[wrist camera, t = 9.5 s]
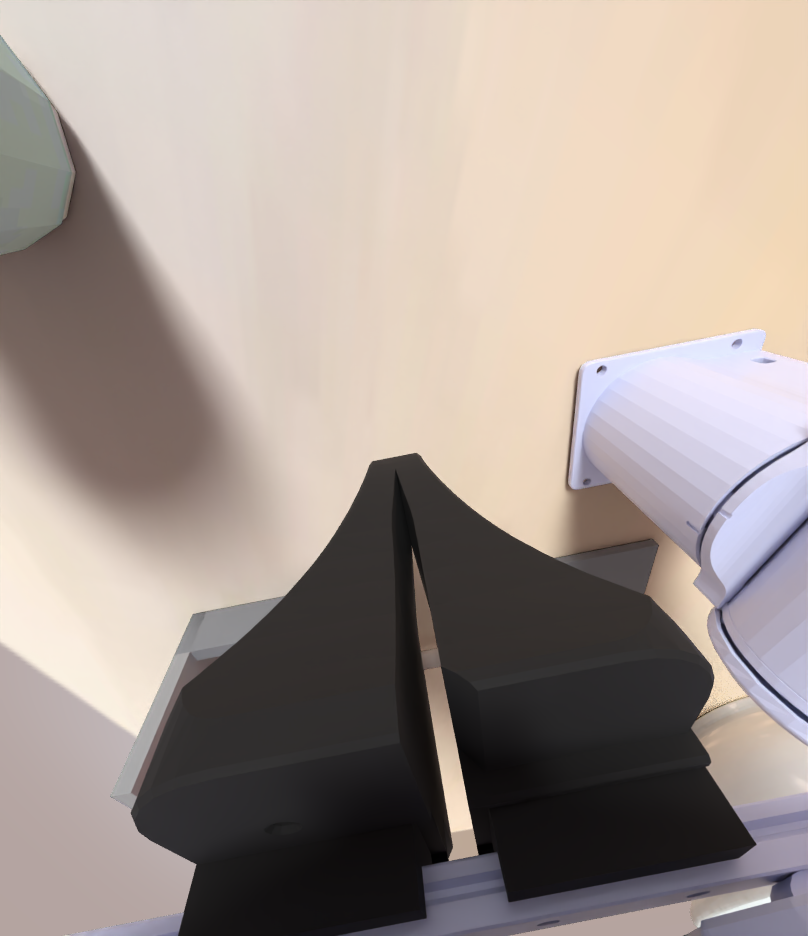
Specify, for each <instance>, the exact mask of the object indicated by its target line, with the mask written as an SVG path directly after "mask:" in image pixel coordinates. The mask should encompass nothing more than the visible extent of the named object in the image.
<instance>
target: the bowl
mask: <svg viewBox="0 0 808 936" xmlns="http://www.w3.org/2000/svg"><path fill="white" fill-rule="evenodd" d="M691 729H692V730H693V732H694V733H695V734H696V736H697V737H698V739H699V740H700V742H701V743H702V745H703V746H704V748H705V749H706V751H707V752H708V754H709V756H710V759H711V764H710V765H709V766H707V767H706V768H707V770H708V771H709V773H710V774H711V776H712V777H713V779H714V780H715V782H716V783H717V785H718V786H719V788H720V789H721V791H722V792H723V794H724V795H725V797H726V798H727V800H728V801H729V803H730V805H731V806H737V805H742V804H748V803H753V802H758V801H763V800H768V799H774V798H779V797H784V796H789V795H794V794H799V793H805V792H808V746H806V745H805V744H803V743H802V742H800V741H799V740H798V739H796V738H795V737H794V736H792V735H791V734H790V733H788V732H787V731H786V730H785V729H783V728H782V727H781V726H780V725H778V724H777V723H776V722H775V721H774V720H773V719H771V718H770V717H769V716H768V715H767V714H766V713H765V712H764V711H763V710H762V709H761V708H760V707H759V706H758V705H757V704H756V703H755V702H754V701H753V700H752V699H751V698H750V697H749V696H748V697H744V698H741V699H738V700H735V701H733V702H730V703H727V704H725V705H723V706H720V707H718V708H716V709H714V710H712V711H710V712H708V713H707V714H705V715H703V716H702V717H700V718H699V719H697V720H696V721H695V722H694V724H693V725H692V727H691ZM774 885H775V884H774ZM772 886H773V885H769V886H763V887H758V888H753V889H748V890H743V891H737V892H732V893H727V894H722V895H717V896H712V897H706V898H701V899H696V900H692V901H691V907H690V916H691V919H692V921H693V923H694V924H695V926H697V927H698V928H699V927H700V926H701V921H702V920H705V919H709V918H712V917H716V916H720V915H724V914H728V913H731V912H735V911H739V910H743V909H747V908H750V907H754V906H758V905H762V904H766V903H769V902H771V899H770V893H771V889H772Z"/></svg>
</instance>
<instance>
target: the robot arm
mask: <svg viewBox="0 0 808 936" xmlns="http://www.w3.org/2000/svg"><path fill="white" fill-rule="evenodd" d="M765 337H766V333H765V331H763V330H760V329H750V330H745V331H739V332H734V333H729V334H724V335H719V336H714V337H709V338H704V339H699V340H693V341H688V342H683V343H678V344H673V345H668V346H663V347H658V348H653V349H647V350H642V351H637V352H632V353H627V354H622V355H617V356H612V357H607V358H601V359H596V360H591V361H588V362H585V363H584V364H583V365H582V366H581V368H580V370H579V376H578V386H577V396H576V406H575V416H574V427H573V437H572V447H571V457H570V467H569V477H568V484H569V486H570V487H571V488H572V489H574V490H578V489H583V488H588V487H593V486H598V485H603V484H609V483H613V484H614V485H615V486H616V487H617V488H618V489H619V490H620V491H621V492H622V493H623V494H624V495H625V496H626V497H627V498H628V499H630V500H631V501H632V502H633V503H634V504H635V505H636V506H637V507H638V508H639V509H640V510H641V511H642V512H643V513H644V514H645V515H646V516H647V517H648V518H649V519H651V520H652V521H653V522H654V523H655V524H656V525H657V526H658V527H659V528H660V529H661V530H662V531H663V532H664V533H665V534H666V535H667V536H668V537H669V538H670V539H672V540H673V541H674V542H675V543H676V544H677V545H678V546H679V547H680V548H681V549H682V550H683V551H684V552H685V553H686V554H687V555H688V556H689V557H690V558H691V559H693V560H694V561H695V562H696V563H697V564H698V565H699V566H700V567H701V571H700V573H699V575H698V576H697V578H696V579H695V581H694V583H693V584H694V585H695V586H696V587H697V588H698V589H699V590H700V591H701V592H702V593H703V594H704V595H705V596H706V597H707V598H708V600H709V601H710V602H711V603H712V604H713V605H714V606H715V607H714V608H713V609H711V611H710V613H709V616H708V620H707V628H708V632H709V636H710V639H711V641H712V643H713V646H714V648H715V650H716V652H717V653H718V655H719V657H720V658H721V660H722V662H723V663H724V665H725V666H726V668H727V669H728V671H729V672H730V674H731V675H732V677H733V678H734V679H735V681H736V682H737V683H738V685H739V686H740V687H741V688H742V689H743V691H744V692H745V693H746V694H747V695H748V696H749V697H750V698H751V699H752V700H753V701H754V702H755V703H756V704H757V705H758V706H759V707H760V708H761V709H762V710H763V711H764V712H765V713H766V714H767V715H768V716H769V717H770V718H771V719H773V720H774V721H775V722H776V723H777V724H778V725H780V726H781V727H782V728H783V729H785V730H786V731H787V732H788V733H790V734H791V735H792V736H794V737H795V738H796V739H798V740H799V741H800V742H802V743H803V744H805V745H806V746H808V363H807V362H804V361H800V360H796V359H792V358H789V357H785V356H781V355H777V354H774V353H770V352H766V351H762V350H761V349H762V346H763V343H764V340H765ZM734 341H735V343H734V344H733V342H734ZM732 344H733V345H732ZM600 366H602V370H601V371H600V372H599V373H597V369H598V368H599V367H600ZM585 479H587V480H586V481H584V480H585ZM583 481H584V482H583ZM412 548H413V552H414V555H415V559H416V562H417V566H418V569H419V573H420V576H421V580H422V583H423V587H424V590H425V594H426V597H427V600H428V604H429V607H430V611H431V615H432V620H433V626H434V631H435V637H436V642H437V647H438V653H439V658H440V664H441V669H442V674H443V679H444V684H445V689H446V694H447V699H448V704H449V708H450V713H451V718H452V723H453V728H454V733H455V738H456V743H457V748H458V753H459V759H460V764H461V769H462V774H463V779H464V785H465V790H466V795H467V800H468V806H469V811H470V815H471V820H472V825H473V829H474V834H475V839H476V844H477V849H478V854H479V855H478V856H473V857H468V858H463V859H458V860H452V861H449V859H448V858H449V856H450V853H451V851H452V848H453V844H452V838H451V832H450V827H449V821H448V815H447V809H446V803H445V797H444V791H443V785H442V779H441V773H440V767H439V761H438V755H437V749H436V743H435V736H434V730H433V724H432V718H431V712H430V706H429V700H428V693H427V687H426V681H425V675H424V668H423V662H422V656H421V649H420V643H419V637H418V628H417V619H416V605H415V589H414V574H413V559H412ZM713 683H714V674H713V670H712V666H711V664H710V663H709V662H708V661H707V660H706V658H705V657H704V656H703V655H702V654H701V652H700V651H699V650H698V649H697V648H696V646H695V645H694V644H693V643H692V642H691V640H690V639H689V638H688V637H687V635H686V634H685V633H684V632H683V631H682V630H681V629H680V628H679V626H678V625H677V624H676V623H675V622H674V621H673V620H672V619H671V618H670V617H669V616H668V615H667V614H666V613H665V612H664V611H663V610H662V609H661V608H660V607H659V606H658V605H657V604H656V603H655V602H654V601H653V600H652V598H651V597H649V596H647V595H645V594H642V593H639V592H637V591H634V590H631V589H629V588H626V587H623V586H620V585H618V584H615V583H612V582H610V581H607V580H604V579H602V578H599V577H596V576H594V575H591V574H588V573H586V572H584V571H581V570H579V569H577V568H575V567H572V566H570V565H568V564H566V563H563V562H561V561H559V560H557V559H554V558H552V557H550V556H548V555H546V554H544V553H542V552H540V551H538V550H537V549H535V548H533V547H531V546H529V545H527V544H525V543H524V542H522V541H520V540H518V539H516V538H514V537H513V536H511V535H509V534H508V533H506V532H505V531H503V530H501V529H500V528H498V527H497V526H495V525H494V524H492V523H491V522H489V521H488V520H486V519H485V518H484V517H482V516H481V515H480V514H478V513H477V512H476V511H474V510H473V509H472V508H471V507H469V506H468V505H467V504H466V503H465V502H463V501H462V500H461V499H460V498H459V497H457V496H456V495H455V494H454V493H453V492H452V491H451V490H450V489H449V488H448V487H447V486H446V485H445V484H444V483H443V482H442V481H441V480H440V479H439V478H438V477H437V476H436V475H435V474H434V473H433V472H432V471H431V469H430V468H429V467H428V466H427V465H426V463H425V462H424V461H423V459H422V458H421V456H420V455H418V454H417V453H413V454H408V455H403V456H398V457H393V458H387V459H382V460H377V461H372V463H371V464H370V465H369V468H368V471H367V473H366V476H365V478H364V481H363V483H362V485H361V487H360V490H359V492H358V494H357V496H356V498H355V500H354V502H353V504H352V506H351V508H350V509H349V511H348V513H347V515H346V516H345V518H344V520H343V521H342V523H341V525H340V526H339V528H338V530H337V531H336V533H335V534H334V536H333V537H332V539H331V540H330V542H329V543H328V545H327V546H326V548H325V549H324V550H323V552H322V553H321V554H320V556H319V557H318V558H317V560H316V561H315V562H314V564H313V565H312V566H311V567H310V568H309V570H308V571H307V572H306V573H305V574H304V576H303V577H302V578H301V579H300V580H299V581H298V582H297V583H296V585H295V586H294V587H293V588H292V589H291V590H290V591H289V593H288V594H287V595H286V596H285V597H284V598H283V599H282V600H281V601H280V602H279V603H278V604H277V605H276V606H275V607H274V608H273V609H272V610H271V611H270V612H269V613H268V614H267V615H266V616H265V617H264V618H263V619H262V620H261V621H259V622H258V623H257V624H256V625H255V626H254V627H253V628H252V629H251V630H250V631H249V632H248V633H247V634H246V635H244V636H243V637H242V638H241V639H240V640H239V641H238V642H237V643H235V644H234V645H233V646H232V647H231V648H229V649H228V650H227V651H226V652H225V653H224V654H222V655H221V656H220V657H219V658H218V659H216V660H215V661H214V662H213V663H212V664H210V665H209V666H208V667H207V668H206V669H204V670H203V671H202V672H201V673H200V674H199V675H197V676H196V677H195V678H194V679H192V680H191V681H190V682H189V683H187V684H186V685H185V686H184V687H182V689H181V692H180V694H179V696H178V698H177V700H176V702H175V704H174V707H173V709H172V711H171V713H170V715H169V717H168V719H167V722H166V724H165V727H164V729H163V732H162V735H161V737H160V740H159V742H158V745H157V747H156V750H155V752H154V755H153V758H152V760H151V763H150V765H149V768H148V770H147V773H146V775H145V778H144V780H143V783H142V786H141V788H140V791H139V793H138V796H137V798H136V801H135V803H134V806H133V808H132V811H131V815H132V817H133V820H134V822H135V825H136V827H137V829H138V831H139V832H140V833H141V834H142V835H144V836H145V837H147V838H148V839H149V840H151V841H152V842H154V843H156V844H158V845H160V846H162V847H164V848H166V849H168V850H170V851H172V852H174V853H176V854H178V855H179V856H182V857H183V858H185V859H187V860H189V861H191V862H193V863H195V864H197V865H196V869H195V872H194V876H193V880H192V884H191V888H190V891H189V895H188V899H187V903H186V906H185V910H184V912H183V913H178V914H173V915H168V916H163V917H157V918H153V919H147V920H142V921H137V922H131V923H126V924H121V925H116V926H111V927H105V928H101V929H95V930H90V931H85V932H80V933H75V934H70V935H64V936H509V935H514V934H519V933H525V932H530V931H535V930H540V929H545V928H551V927H556V926H561V925H566V924H571V923H577V922H582V921H587V920H591V919H597V918H602V917H608V916H613V915H618V914H623V913H628V912H634V911H638V910H643V909H649V908H654V907H659V906H664V905H670V904H675V903H680V902H686V901H691V900H696V899H701V898H706V897H712V896H717V895H722V894H727V893H732V892H737V891H743V890H748V889H753V888H758V887H763V886H769V885H773V886H772V889H771V893H770V899H771V902H769V903H766V904H762V905H758V906H754V907H750V908H747V909H743V910H739V911H735V912H731V913H728V914H724V915H720V916H716V917H712V918H709V919H705V920H702V921H701V926H700V927H699V928H697V929H696V930H694V931H692V932H690V933H689V934H687V935H684V936H808V792H805V793H799V794H794V795H789V796H784V797H779V798H774V799H768V800H763V801H758V802H753V803H748V804H742V805H737V806H731V805H730V803H729V801H728V800H727V798H726V797H725V795H724V794H723V792H722V791H721V789H720V788H719V786H718V785H717V783H716V782H715V780H714V779H713V777H712V776H711V774H710V773H709V771H708V770H707V768H706V767H707V766H709V765H710V764H711V759H710V756H709V754H708V752H707V751H706V749H705V748H704V746H703V745H702V743H701V742H700V740H699V739H698V737H697V736H696V734H695V733H694V732H693V730H692V729H691V727H692V725H693V724H694V722H695V720H696V719H697V717H698V715H699V714H700V712H701V710H702V709H703V707H704V705H705V703H706V702H707V700H708V698H709V696H710V693H711V690H712V687H713ZM774 884H775V885H774Z"/></svg>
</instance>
